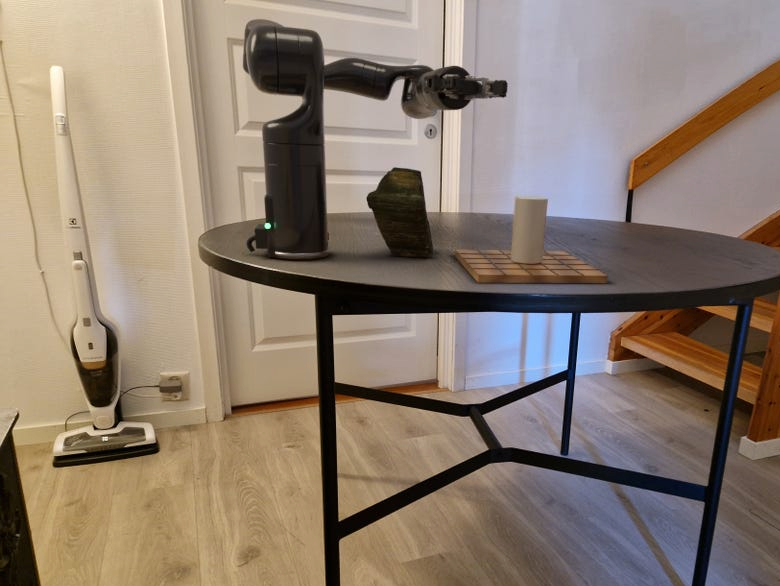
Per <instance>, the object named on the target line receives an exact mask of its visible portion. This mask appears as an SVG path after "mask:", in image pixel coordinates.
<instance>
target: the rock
mask: <svg viewBox="0 0 780 586" xmlns="http://www.w3.org/2000/svg"><path fill="white" fill-rule="evenodd" d="M366 203H367V206H368V208H369V209H370V210H371V211H372V213H373V216H374V220H375V222H376V225H377V228H378V230H379V232H380V235H381V236H382V238H383V241H384V242H385V245H386V246H387V248H388V249H389V251H390V254H391V256H392V257H406V258H407V257H408V258H426V259H428V258H429V259H430V258H431V257H432V254H433V252H434V245H433V237H432V233H431V227H430V221H429V219H428V212H427V205H426V197H425V189H424V182H423V176H422V171H421V170H417V169H412V168H407V167H406V168H405V167H392V169H390V170H388V171H387V172H386V174H384V175H383V176H382V178H381V179H380V181H379V182H378V185H377V186H376V189H374V190H373V191H371V192H369V193H368V194H367V196H366Z"/></svg>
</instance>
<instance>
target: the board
mask: <svg viewBox="0 0 780 586" xmlns="http://www.w3.org/2000/svg"><path fill="white" fill-rule="evenodd" d="M454 257H455V258H456V259H457V261H458V262H459V263H460V264H461V265H462V266H463V267H464V268H465V269H466V271H467V272H468V273H469V274H470V275H471V277H473V278H474V280H475V281H476V282H477V283H478V284H479V283H480V284H482V283H483V284H486V283H487V284H607V283H608V276H609V275H608V274H605V273H604V272H602V271H600V270H599V269H598V268H595V267H593V266H591V265H590V264H589V263H586V262H584V261H583V260H581V259H580V258H577V257H575V256H573V255H572V254H570V253H568V252H566V251H564V250H544V249H543V260H542V262H541V263H537V264H525V263H517V262H514V261H511V259H510V258H511V249H509V250H505V249H504V250H503V249H478V248H476V249H454Z"/></svg>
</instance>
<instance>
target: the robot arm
mask: <svg viewBox="0 0 780 586" xmlns="http://www.w3.org/2000/svg"><path fill="white" fill-rule="evenodd" d="M243 39H244V40H243V49H242V50H243V51H242V52H243V53H242V69H243V70H244V72H245V73H246V74H248V75H249V77H250V80H251V82H252V84H253V85H254V87H255V88H256V89H257V90H258V91H259V92H261V93H263V94H267V95H275V96H286V97H300V98H301V103H300V106H299V107H297V108H296V109H295V110H294V111H292V112H290V113H289V114H286V115H285V116H282V117H278V118H275V119H271V120H268V121H266V122H264V123H263V124H262V127H261V137H262V138H261V139H262V152H263V167H264V170H263V171H264V183H265V185H264V186H265V194H264V196H263V200H264V214H265V223H258V224H257V226H256V227H255V228H254V235H252V236H249V238H247V240H246V247H247V249H248V251H249V252H250V253H253V252H255V251H256V250H267V257H268V258H276V259H282V260H294V261H295V260H297V261H298V260H300V261H301V260H317V259H323V258H326V257H328V256H329V255H330V248H329V240H330V236H329V235H330V234H329V230H328V228H329V227H328V202H327V201H328V200H327V168H326V141H325V140H326V139H325V113H324V112H325V109H324V108H325V107H324V104H325V90H327V91H337V92H343V93H348V94H352V95H356V96H360V97H363V98H364V97H365V98H367V99H372V100H377V101H380V102H381V101H382V102H385V101H387V100H388V99H389V98H390V95H391V93H392V90H393V87H394V85H395V83H396V82H398V81H401V80H403V87H402V92H401V97H400V106H401V110H402V112H403V113H404V114H405V115H406V116H408V117H409V118H410V119H411V118H412V119H414V120H424V119H428V118H430V117H432V116H434V115H435V114H436V113H437V112H438V111H458V110H462V109H465V107H467V106H468V105H469V104H470V103H471V101H474V100H477V99H479V100H480V99H481V100H487V99H492V98H495V99H496V98H502V99H504V98H507V93H508V82H507V80H504V79H499V80H498V79H494V80H490V79H489V78H488V77H481V76H479V77H478V76H477V77H476V76H472V75H471V74H470V73H469V72H468V70H466V69H465V68H464V67H462V66H459V65H449V66H444V67H440V68H436V69H434V68H432V67H431V66H428V65H425V64H413V65H411V64H410V65H390V64H383V63H378V62H375V61H371V60H367V59H364V58H359V57H344V58H340V59H338V60H335V61H332V62H330V63H327V64H325V51H324V44H323V41H322V38H321V35H320V34H319V33H318V32H317V31H316V30H313V29H308V28H300V27H291V26H284V25H283V24H281V23H278V22H276V21H273V20H269V19H266V18H265V19H264V18H256V19H255V18H254V19H251V20H249V21H248V22H247V23H246V25H245V28H244V36H243ZM253 242H255V247H254V246H253Z"/></svg>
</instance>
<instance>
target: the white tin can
mask: <svg viewBox="0 0 780 586" xmlns="http://www.w3.org/2000/svg"><path fill="white" fill-rule="evenodd" d="M548 202H549V198H547V197H543V196H535V195H515V196H514V203H513V217H512V229H511V230H512V231H511V244H510V245H511V246H510V250H511V258H510V259H511V261H514V262H517V263H525V264H537V263H541V262H542V260H543V250H544V249H545V248H544V247H545V238H546V237H545V236H546V227H547V226H546V224H547V215H548V204H549V203H548Z"/></svg>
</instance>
